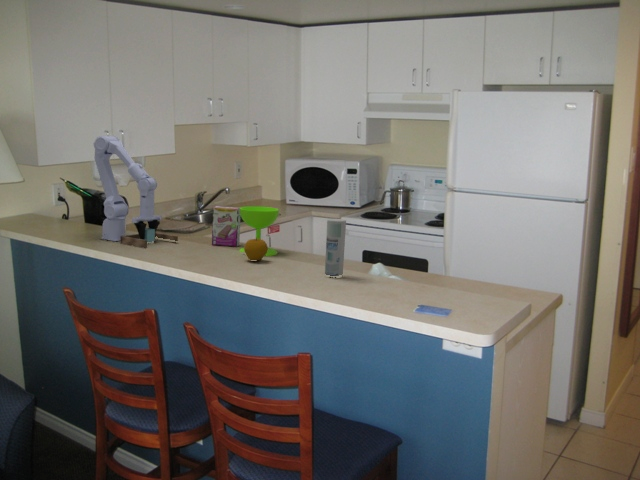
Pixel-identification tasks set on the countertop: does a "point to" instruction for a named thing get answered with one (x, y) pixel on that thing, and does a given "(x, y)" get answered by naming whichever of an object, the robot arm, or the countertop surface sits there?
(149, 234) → the teal block
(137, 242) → the walnut crate
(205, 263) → the countertop surface
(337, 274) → the spray can
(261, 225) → the wineglass
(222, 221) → the candy bar box
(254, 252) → the apple
